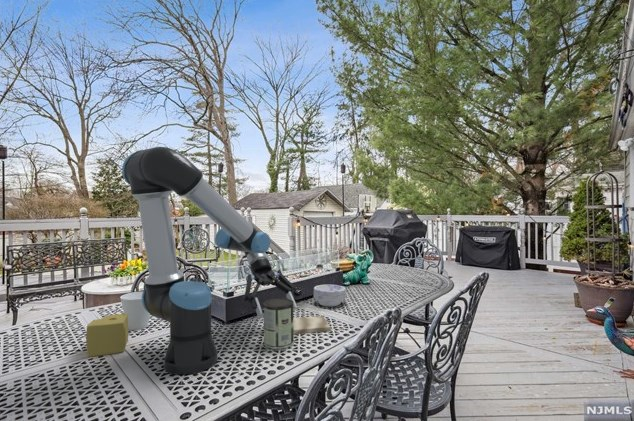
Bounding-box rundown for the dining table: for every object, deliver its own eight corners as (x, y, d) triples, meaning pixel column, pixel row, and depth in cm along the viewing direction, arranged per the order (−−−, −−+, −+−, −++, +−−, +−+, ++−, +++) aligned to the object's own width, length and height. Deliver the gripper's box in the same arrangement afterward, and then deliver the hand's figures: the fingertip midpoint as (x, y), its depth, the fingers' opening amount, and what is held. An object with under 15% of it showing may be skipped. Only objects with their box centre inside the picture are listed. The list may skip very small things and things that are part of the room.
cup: (123, 335, 125) (123, 301, 125) (117, 326, 134) (117, 294, 134) (158, 327, 132) (158, 295, 132) (150, 319, 142) (150, 289, 141)
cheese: (94, 345, 116) (93, 316, 116) (130, 340, 120) (129, 312, 120) (85, 358, 106) (85, 326, 106) (125, 353, 110) (124, 322, 110)
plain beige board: (282, 334, 125) (282, 330, 125) (279, 322, 137) (279, 319, 137) (330, 331, 128) (330, 327, 128) (322, 319, 141) (322, 315, 141)
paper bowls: (345, 299, 170) (345, 284, 170) (345, 309, 155) (345, 291, 155) (315, 299, 172) (315, 283, 171) (311, 308, 156) (311, 291, 156)
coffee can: (276, 335, 125) (276, 296, 124) (299, 341, 119) (299, 300, 119) (257, 345, 116) (256, 303, 116) (281, 352, 110) (281, 308, 110)
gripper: (283, 265, 142) (303, 311, 130) (225, 273, 128) (242, 325, 116) (290, 254, 138) (311, 300, 126) (230, 260, 123) (248, 313, 111)
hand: (278, 312), depth 121 cm, fingers open, 13 cm apart
